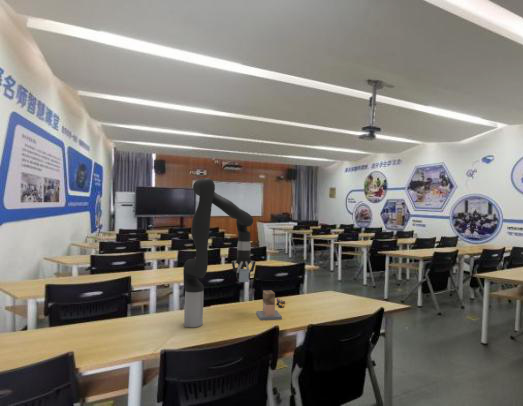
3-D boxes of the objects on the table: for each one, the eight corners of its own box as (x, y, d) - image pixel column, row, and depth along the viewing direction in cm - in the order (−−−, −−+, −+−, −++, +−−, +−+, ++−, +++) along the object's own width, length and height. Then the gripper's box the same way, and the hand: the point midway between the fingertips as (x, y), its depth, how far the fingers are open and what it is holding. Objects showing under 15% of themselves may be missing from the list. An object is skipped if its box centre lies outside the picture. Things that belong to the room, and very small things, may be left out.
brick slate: (239, 282, 184) (239, 271, 184) (237, 279, 191) (238, 268, 192) (248, 281, 185) (248, 271, 185) (246, 279, 192) (246, 268, 193)
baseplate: (260, 320, 177) (260, 306, 178) (256, 313, 189) (256, 300, 189) (281, 319, 180) (282, 305, 180) (276, 312, 191) (276, 299, 192)
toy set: (271, 309, 200) (271, 301, 200) (266, 304, 211) (266, 296, 211) (290, 308, 203) (290, 300, 203) (284, 303, 214) (284, 296, 214)
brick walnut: (265, 304, 180) (266, 293, 180) (262, 301, 188) (263, 290, 188) (274, 304, 181) (274, 293, 181) (271, 300, 189) (271, 290, 189)
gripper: (255, 248, 194) (254, 278, 193) (230, 248, 191) (229, 278, 190) (257, 249, 187) (256, 280, 186) (232, 249, 184) (231, 280, 183)
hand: (243, 279), depth 188 cm, fingers closed on brick slate, 5 cm apart
